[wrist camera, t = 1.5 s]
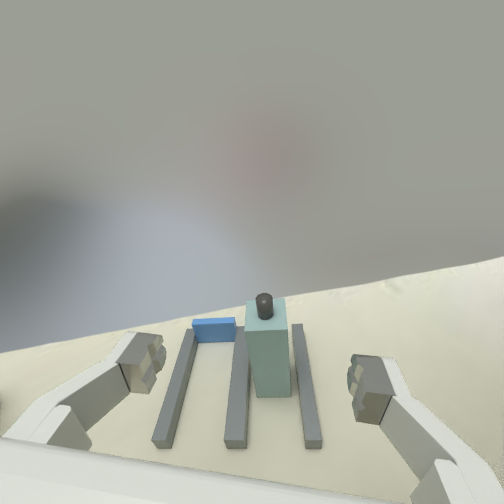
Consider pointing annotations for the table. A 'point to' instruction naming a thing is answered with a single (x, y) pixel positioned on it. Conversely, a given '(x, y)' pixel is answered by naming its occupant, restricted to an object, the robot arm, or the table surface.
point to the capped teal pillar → (268, 345)
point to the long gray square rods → (233, 384)
